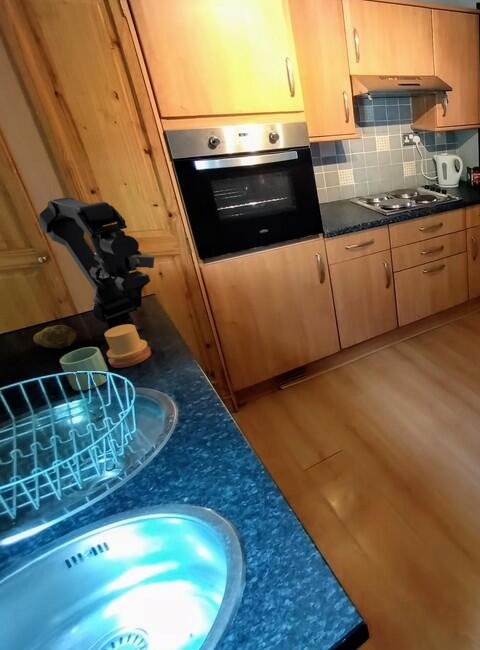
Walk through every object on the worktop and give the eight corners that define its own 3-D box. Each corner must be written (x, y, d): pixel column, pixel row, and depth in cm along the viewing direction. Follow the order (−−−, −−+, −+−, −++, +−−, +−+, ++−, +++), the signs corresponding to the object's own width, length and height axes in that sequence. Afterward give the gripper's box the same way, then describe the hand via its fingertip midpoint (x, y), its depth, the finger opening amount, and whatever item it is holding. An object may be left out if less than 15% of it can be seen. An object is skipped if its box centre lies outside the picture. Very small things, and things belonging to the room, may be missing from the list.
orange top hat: (100, 362, 120) (89, 337, 117) (129, 344, 127) (120, 321, 124) (129, 365, 119) (119, 340, 116) (157, 347, 126) (148, 323, 123)
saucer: (103, 362, 122) (101, 358, 121) (140, 345, 129) (139, 342, 129) (120, 371, 118) (118, 367, 118) (158, 354, 125) (156, 350, 125)
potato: (75, 334, 134) (64, 311, 131) (84, 350, 127) (72, 326, 124) (36, 346, 129) (24, 322, 125) (43, 363, 121) (30, 338, 118)
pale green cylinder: (67, 385, 113) (54, 358, 110) (102, 369, 119) (90, 344, 115) (80, 394, 110) (67, 367, 106) (116, 377, 116) (104, 351, 112)
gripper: (162, 246, 121) (179, 298, 128) (127, 236, 129) (145, 285, 136) (113, 260, 112) (134, 315, 119) (79, 248, 121) (101, 300, 127)
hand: (130, 303), depth 125 cm, fingers open, 9 cm apart
